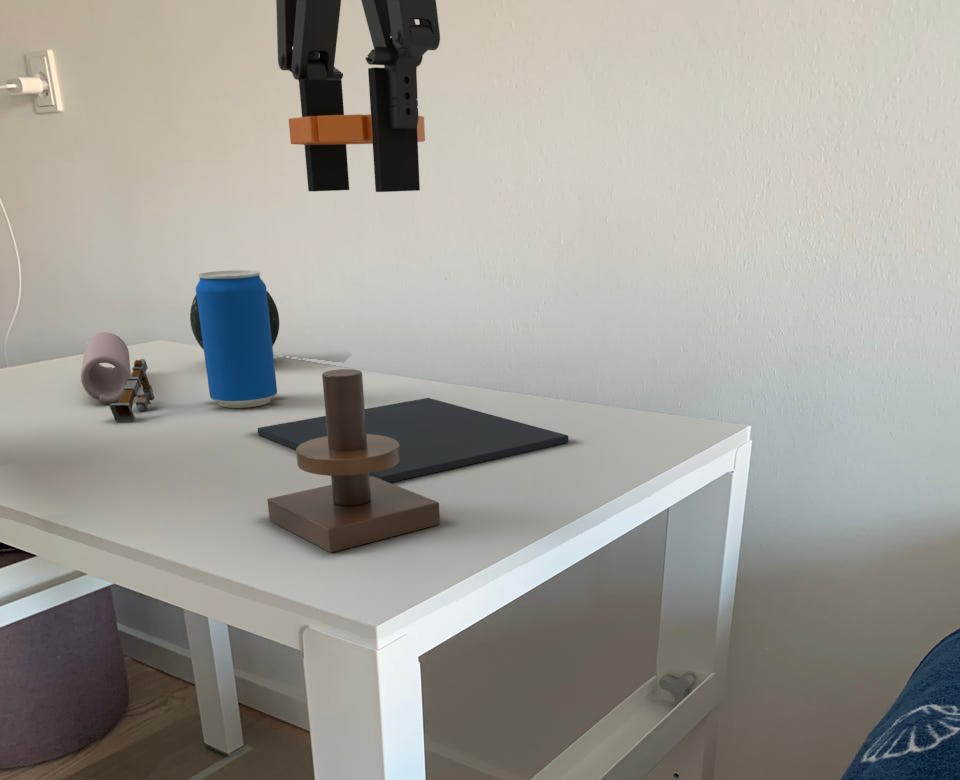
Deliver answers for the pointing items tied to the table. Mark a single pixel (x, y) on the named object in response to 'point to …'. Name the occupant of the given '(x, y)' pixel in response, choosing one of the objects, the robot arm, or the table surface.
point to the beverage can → (236, 338)
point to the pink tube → (100, 379)
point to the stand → (350, 479)
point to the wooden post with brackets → (134, 393)
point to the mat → (430, 436)
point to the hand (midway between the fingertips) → (361, 190)
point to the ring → (337, 130)
